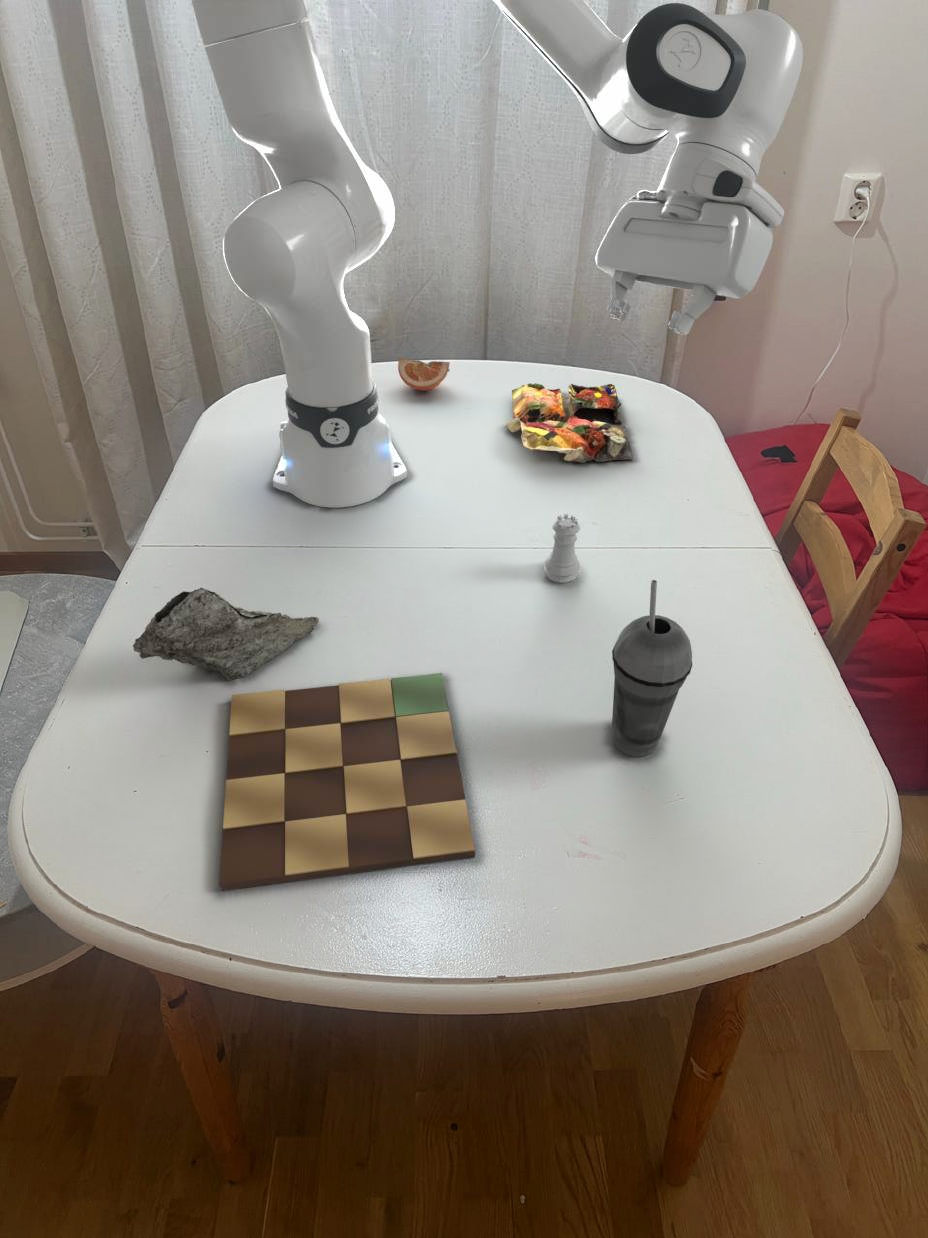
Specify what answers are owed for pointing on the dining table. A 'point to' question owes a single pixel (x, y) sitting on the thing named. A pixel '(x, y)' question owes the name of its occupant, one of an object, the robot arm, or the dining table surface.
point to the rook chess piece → (563, 551)
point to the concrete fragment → (219, 634)
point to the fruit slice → (422, 373)
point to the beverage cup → (647, 679)
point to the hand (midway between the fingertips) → (644, 324)
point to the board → (341, 782)
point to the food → (569, 422)
